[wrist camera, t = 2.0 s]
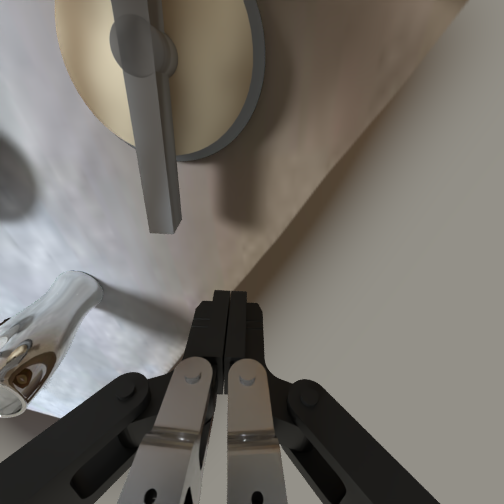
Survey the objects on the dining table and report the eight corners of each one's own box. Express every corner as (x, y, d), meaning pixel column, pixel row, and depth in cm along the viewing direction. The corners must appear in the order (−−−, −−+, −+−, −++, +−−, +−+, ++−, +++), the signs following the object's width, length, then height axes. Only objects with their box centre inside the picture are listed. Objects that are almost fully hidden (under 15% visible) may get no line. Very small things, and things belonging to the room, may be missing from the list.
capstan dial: (111, 202, 27) (77, 229, 22) (6, -239, 14) (-146, -443, 9) (245, 209, 28) (244, 238, 22) (266, -213, 14) (274, -392, 9)
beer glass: (111, 308, 37) (39, 420, 25) (62, 305, 37) (-37, 417, 24) (100, 269, 34) (8, 376, 21) (45, 265, 34) (-81, 373, 21)
